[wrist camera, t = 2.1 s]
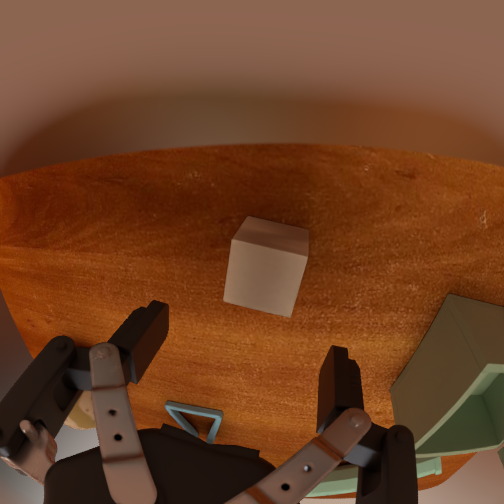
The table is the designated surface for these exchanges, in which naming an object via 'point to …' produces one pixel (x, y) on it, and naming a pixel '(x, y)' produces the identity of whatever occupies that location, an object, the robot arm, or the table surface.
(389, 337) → the table surface
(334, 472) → the green rod
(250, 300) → the block
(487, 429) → the chest
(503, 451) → the lid
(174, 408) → the chair
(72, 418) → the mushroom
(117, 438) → the robot arm
